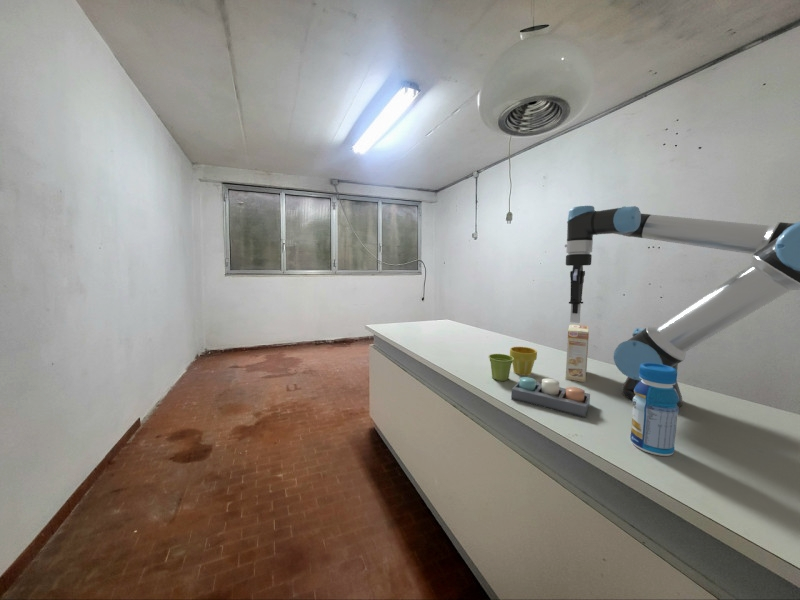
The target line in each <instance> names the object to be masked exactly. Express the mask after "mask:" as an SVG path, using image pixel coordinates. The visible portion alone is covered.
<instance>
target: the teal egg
mask: <svg viewBox="0 0 800 600" xmlns="http://www.w3.org/2000/svg"><path fill="white" fill-rule="evenodd" d="M519 381H520V384H519V388H522V389H526V390H531V391H535V387H536V381H537V380H536V379H534V378H532V377H526V376H522V377H520V378H519Z"/></svg>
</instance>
